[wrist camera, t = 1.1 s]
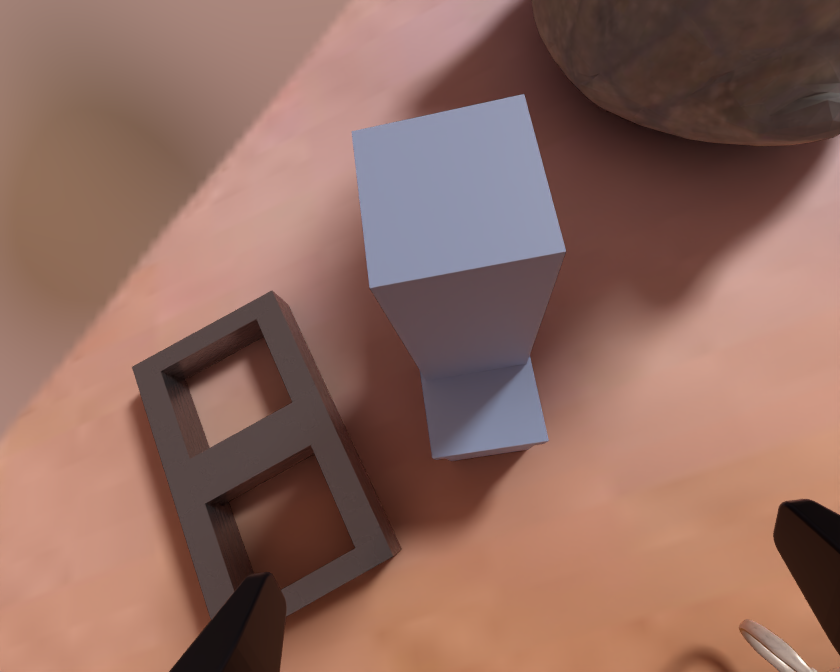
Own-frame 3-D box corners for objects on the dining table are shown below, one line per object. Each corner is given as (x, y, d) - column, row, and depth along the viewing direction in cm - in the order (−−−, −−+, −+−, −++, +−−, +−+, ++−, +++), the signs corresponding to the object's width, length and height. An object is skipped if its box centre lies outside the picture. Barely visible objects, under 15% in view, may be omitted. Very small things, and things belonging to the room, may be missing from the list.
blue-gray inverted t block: (536, 448, 21) (617, 398, 8) (442, 462, 22) (375, 436, 9) (495, 256, 25) (506, -4, 11) (414, 272, 25) (333, 37, 12)
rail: (401, 549, 21) (393, 556, 19) (245, 637, 21) (221, 653, 19) (287, 304, 25) (271, 290, 23) (158, 375, 25) (132, 366, 23)
